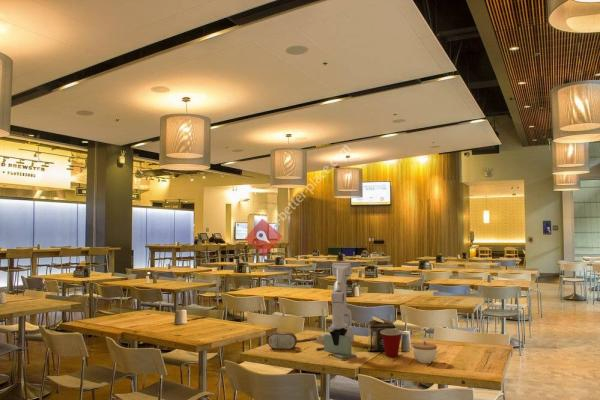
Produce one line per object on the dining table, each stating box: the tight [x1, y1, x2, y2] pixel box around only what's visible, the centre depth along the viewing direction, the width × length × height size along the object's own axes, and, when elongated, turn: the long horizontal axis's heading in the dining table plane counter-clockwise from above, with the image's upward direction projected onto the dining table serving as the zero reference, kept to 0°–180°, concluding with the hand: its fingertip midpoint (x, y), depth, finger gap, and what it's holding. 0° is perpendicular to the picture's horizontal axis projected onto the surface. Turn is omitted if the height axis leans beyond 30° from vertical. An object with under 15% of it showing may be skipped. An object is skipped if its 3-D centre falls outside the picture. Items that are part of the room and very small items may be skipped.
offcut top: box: [318, 333, 325, 340], centre depth 271 cm, size 4×10×2 cm, turn 39°
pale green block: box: [323, 333, 353, 355], centre depth 251 cm, size 3×14×8 cm, turn 51°
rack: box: [297, 337, 324, 351], centre depth 268 cm, size 18×23×2 cm
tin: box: [267, 331, 298, 350], centre depth 262 cm, size 15×3×8 cm, turn 84°
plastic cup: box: [379, 328, 403, 358], centre depth 248 cm, size 11×11×12 cm
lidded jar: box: [412, 340, 438, 364], centre depth 236 cm, size 11×11×9 cm
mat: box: [328, 353, 357, 360], centre depth 250 cm, size 9×17×1 cm, turn 33°
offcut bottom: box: [315, 337, 324, 345], centre depth 271 cm, size 5×12×2 cm, turn 33°
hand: (338, 344), depth 250 cm, fingers closed on pale green block, 3 cm apart
